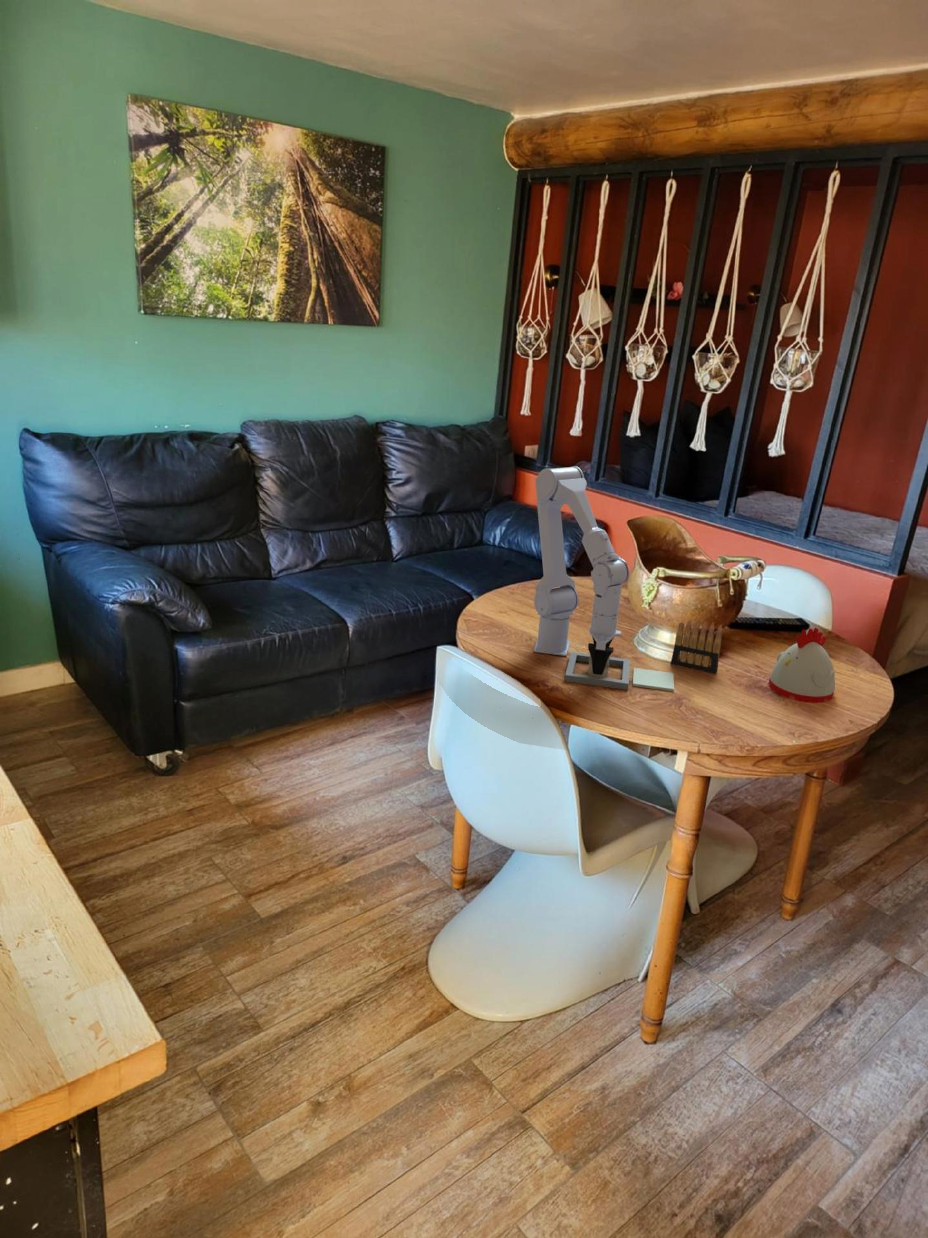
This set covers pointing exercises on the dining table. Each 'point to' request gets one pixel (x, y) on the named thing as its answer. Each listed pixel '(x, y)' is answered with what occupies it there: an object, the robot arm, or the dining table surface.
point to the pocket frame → (593, 679)
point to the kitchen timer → (804, 670)
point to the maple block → (590, 673)
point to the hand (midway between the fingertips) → (598, 667)
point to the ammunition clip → (697, 648)
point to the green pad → (653, 679)
